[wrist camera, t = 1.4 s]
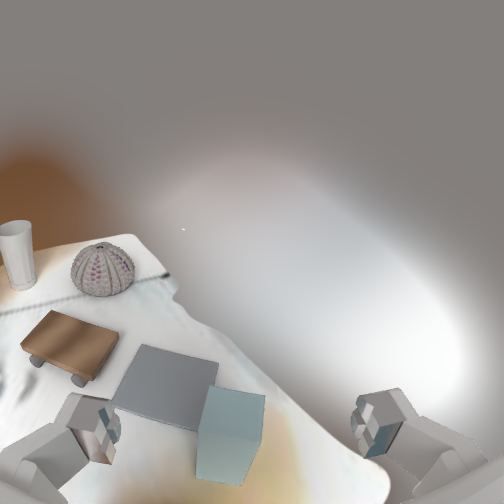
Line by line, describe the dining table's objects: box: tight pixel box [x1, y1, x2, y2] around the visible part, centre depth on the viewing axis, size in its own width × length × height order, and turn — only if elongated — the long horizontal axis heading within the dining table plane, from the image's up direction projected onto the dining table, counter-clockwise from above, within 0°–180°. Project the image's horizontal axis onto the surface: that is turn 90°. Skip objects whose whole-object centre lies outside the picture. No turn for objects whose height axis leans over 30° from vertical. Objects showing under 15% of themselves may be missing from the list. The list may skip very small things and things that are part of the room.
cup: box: [0, 220, 37, 291], centre depth 46 cm, size 8×8×12 cm
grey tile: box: [112, 344, 219, 431], centre depth 37 cm, size 12×12×1 cm
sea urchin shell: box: [71, 242, 135, 297], centre depth 53 cm, size 13×14×8 cm
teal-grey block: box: [196, 386, 265, 486], centre depth 25 cm, size 5×5×12 cm
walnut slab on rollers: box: [21, 310, 119, 387], centre depth 36 cm, size 13×10×3 cm
